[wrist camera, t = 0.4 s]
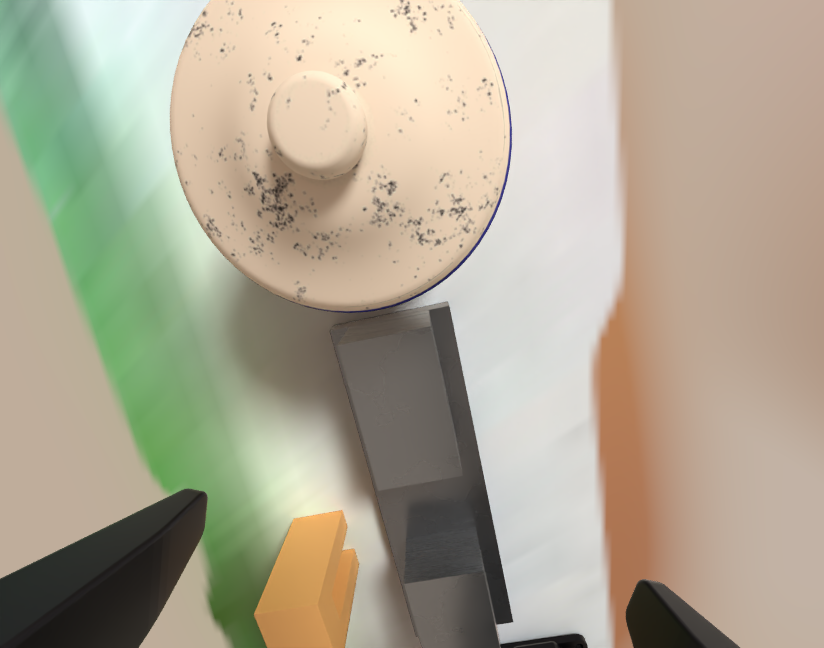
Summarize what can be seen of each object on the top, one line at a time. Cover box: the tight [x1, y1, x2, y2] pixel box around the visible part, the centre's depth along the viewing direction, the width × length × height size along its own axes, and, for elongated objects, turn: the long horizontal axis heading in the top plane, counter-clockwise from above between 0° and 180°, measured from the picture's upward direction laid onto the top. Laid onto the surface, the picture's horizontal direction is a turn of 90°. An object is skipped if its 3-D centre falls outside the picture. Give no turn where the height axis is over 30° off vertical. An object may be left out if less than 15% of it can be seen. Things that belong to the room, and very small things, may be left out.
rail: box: [330, 302, 513, 648], centre depth 21 cm, size 20×6×4 cm, turn 12°
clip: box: [254, 510, 359, 648], centre depth 22 cm, size 4×3×6 cm
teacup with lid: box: [170, 0, 512, 313], centre depth 13 cm, size 12×9×12 cm
